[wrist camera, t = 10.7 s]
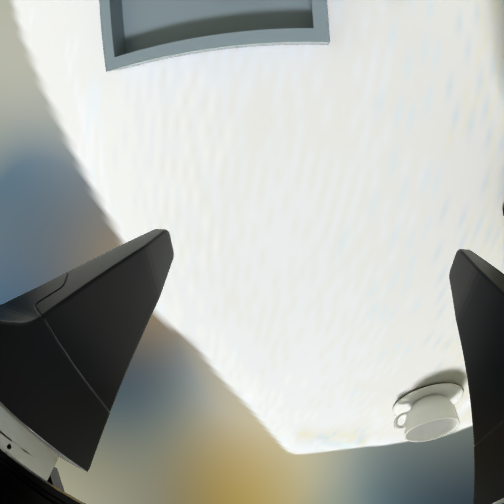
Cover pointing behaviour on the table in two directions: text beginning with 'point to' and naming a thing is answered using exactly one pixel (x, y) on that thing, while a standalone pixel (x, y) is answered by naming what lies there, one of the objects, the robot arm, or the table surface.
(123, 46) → the tray
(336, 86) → the table surface
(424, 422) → the teacup
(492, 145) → the table surface
